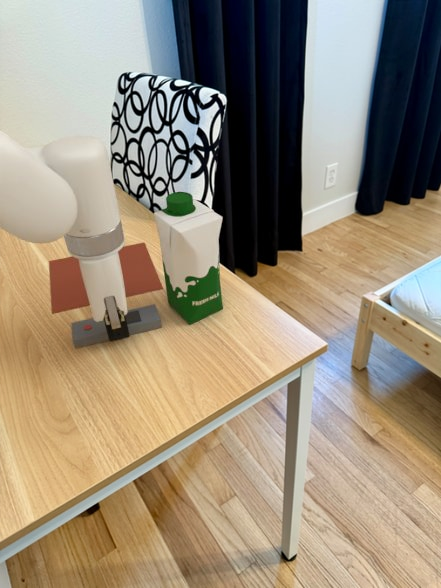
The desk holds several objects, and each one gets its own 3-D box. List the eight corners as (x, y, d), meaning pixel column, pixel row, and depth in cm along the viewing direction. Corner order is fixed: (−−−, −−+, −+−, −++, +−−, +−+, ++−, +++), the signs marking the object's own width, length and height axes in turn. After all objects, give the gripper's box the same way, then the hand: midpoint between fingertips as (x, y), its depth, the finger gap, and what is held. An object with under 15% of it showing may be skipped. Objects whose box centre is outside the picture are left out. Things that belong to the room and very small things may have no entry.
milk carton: (202, 285, 80) (195, 184, 68) (230, 310, 74) (229, 204, 62) (161, 303, 76) (146, 199, 64) (188, 331, 70) (177, 222, 58)
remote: (75, 348, 68) (72, 339, 67) (73, 330, 71) (70, 322, 70) (161, 327, 71) (160, 318, 70) (156, 311, 75) (154, 303, 73)
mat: (52, 314, 75) (51, 313, 75) (49, 261, 89) (49, 261, 89) (163, 289, 80) (163, 288, 80) (144, 242, 94) (144, 242, 93)
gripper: (62, 215, 62) (90, 313, 73) (68, 271, 50) (100, 376, 62) (115, 206, 63) (134, 303, 75) (131, 258, 52) (151, 362, 63)
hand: (119, 336), depth 68 cm, fingers closed
